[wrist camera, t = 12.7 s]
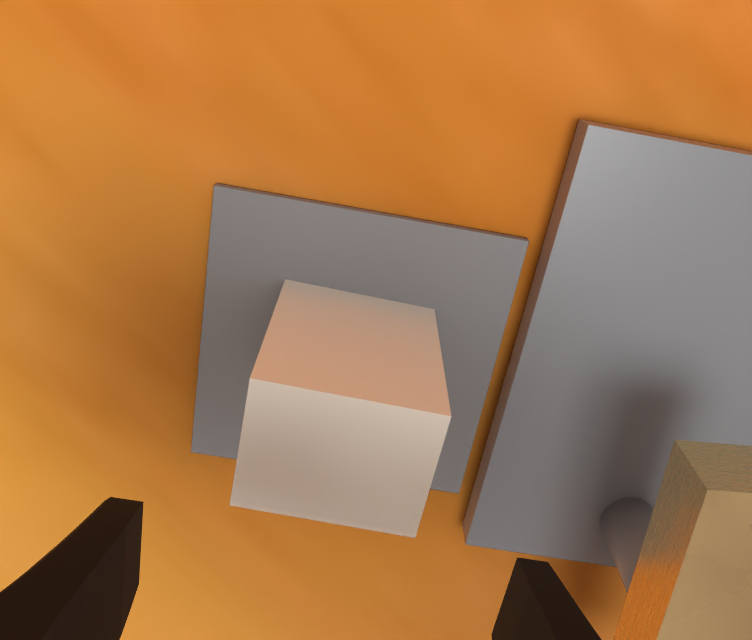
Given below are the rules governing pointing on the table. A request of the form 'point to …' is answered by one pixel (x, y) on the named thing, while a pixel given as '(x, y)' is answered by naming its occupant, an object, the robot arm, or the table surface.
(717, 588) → the tan rectangular bar
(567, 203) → the panel
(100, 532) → the robot arm
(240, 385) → the mat
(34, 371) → the table surface
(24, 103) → the table surface
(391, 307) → the white rectangular block
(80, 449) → the table surface
